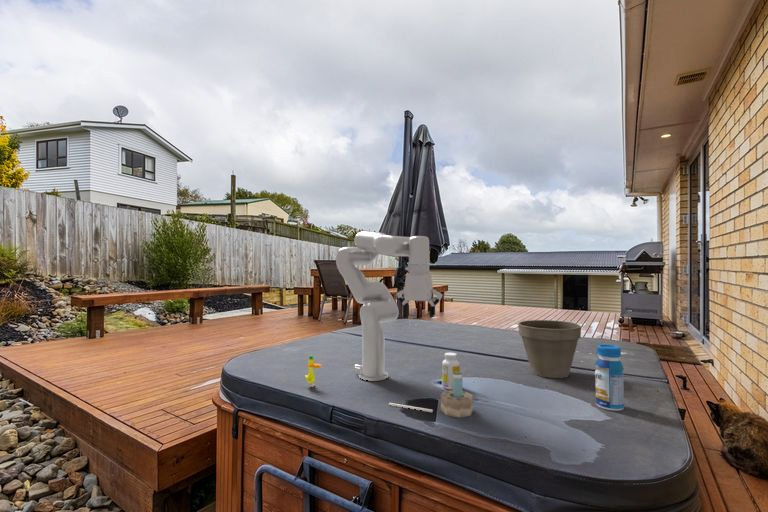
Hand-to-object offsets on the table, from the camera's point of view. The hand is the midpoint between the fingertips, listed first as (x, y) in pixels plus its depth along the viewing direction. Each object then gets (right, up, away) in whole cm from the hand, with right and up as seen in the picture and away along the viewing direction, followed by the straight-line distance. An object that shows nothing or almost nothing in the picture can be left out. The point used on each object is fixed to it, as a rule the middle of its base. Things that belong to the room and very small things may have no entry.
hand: (419, 316), depth 135 cm
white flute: (-4, -28, -14) cm, 32 cm away
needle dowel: (+11, -28, -17) cm, 34 cm away
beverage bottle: (+62, -28, -12) cm, 70 cm away
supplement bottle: (+13, -29, +7) cm, 32 cm away
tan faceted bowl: (+11, -28, -16) cm, 34 cm away
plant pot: (+59, -29, +25) cm, 70 cm away
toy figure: (-40, -29, +7) cm, 50 cm away
